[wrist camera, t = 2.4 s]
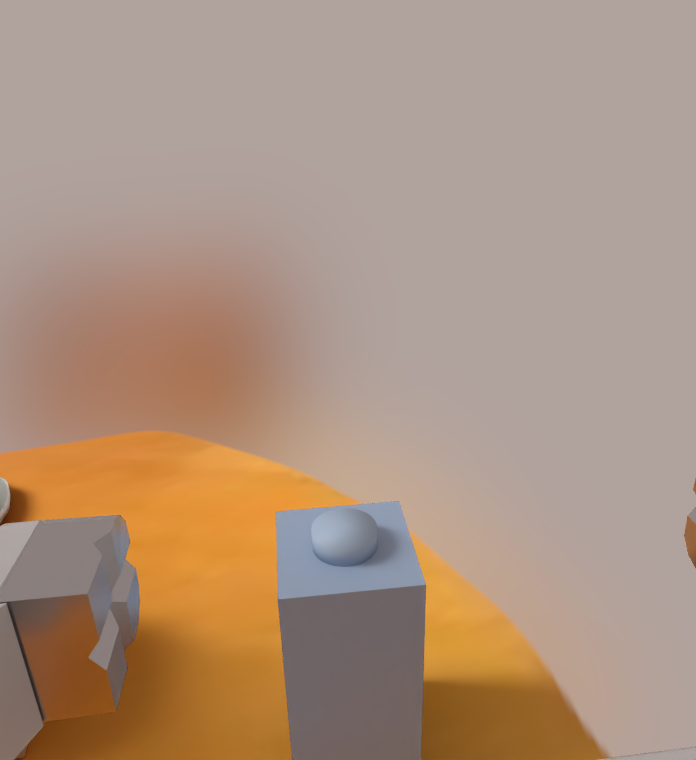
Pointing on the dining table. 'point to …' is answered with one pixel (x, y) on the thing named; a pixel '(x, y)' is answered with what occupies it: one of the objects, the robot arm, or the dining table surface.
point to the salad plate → (4, 498)
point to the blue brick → (351, 632)
